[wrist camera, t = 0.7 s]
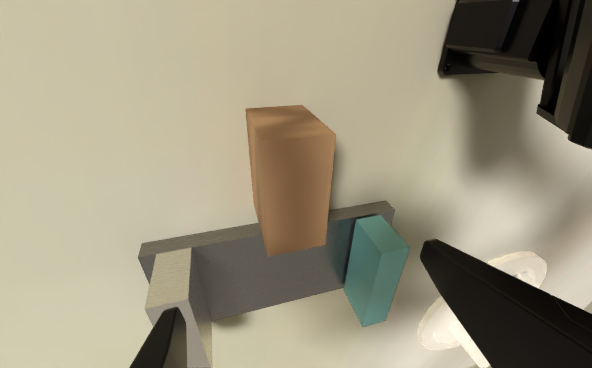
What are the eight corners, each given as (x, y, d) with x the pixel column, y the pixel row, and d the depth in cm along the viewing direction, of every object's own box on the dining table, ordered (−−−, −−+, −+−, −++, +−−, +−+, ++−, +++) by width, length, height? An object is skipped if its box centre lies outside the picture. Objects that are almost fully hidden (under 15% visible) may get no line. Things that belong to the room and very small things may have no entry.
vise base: (385, 200, 26) (428, 243, 21) (369, 268, 31) (400, 315, 26) (141, 243, 21) (121, 314, 16) (171, 317, 26) (163, 387, 21)
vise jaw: (380, 214, 24) (410, 247, 21) (364, 285, 29) (385, 320, 26) (356, 219, 23) (382, 253, 20) (343, 290, 29) (362, 327, 25)
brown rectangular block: (301, 104, 19) (336, 134, 14) (299, 197, 23) (325, 244, 18) (245, 108, 18) (260, 141, 13) (253, 204, 22) (267, 256, 17)
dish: (508, 316, 56) (568, 375, 47) (406, 358, 51) (450, 432, 42) (563, 233, 42) (662, 292, 33) (431, 278, 38) (504, 362, 28)
